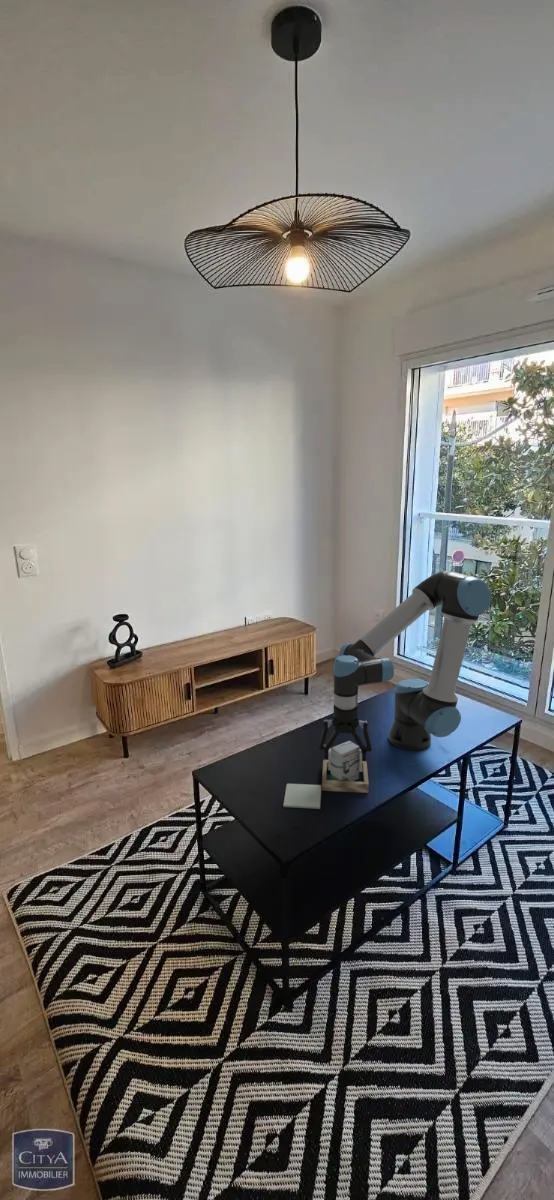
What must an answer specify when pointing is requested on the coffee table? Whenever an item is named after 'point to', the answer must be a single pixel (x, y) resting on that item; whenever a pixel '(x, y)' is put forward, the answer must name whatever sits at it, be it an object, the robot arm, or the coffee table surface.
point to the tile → (302, 796)
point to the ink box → (345, 762)
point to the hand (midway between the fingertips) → (345, 768)
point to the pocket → (345, 785)
